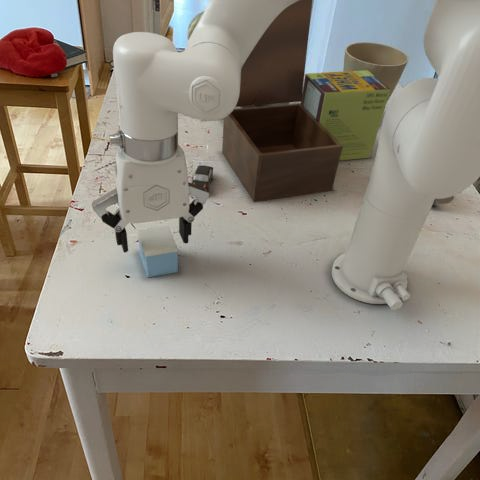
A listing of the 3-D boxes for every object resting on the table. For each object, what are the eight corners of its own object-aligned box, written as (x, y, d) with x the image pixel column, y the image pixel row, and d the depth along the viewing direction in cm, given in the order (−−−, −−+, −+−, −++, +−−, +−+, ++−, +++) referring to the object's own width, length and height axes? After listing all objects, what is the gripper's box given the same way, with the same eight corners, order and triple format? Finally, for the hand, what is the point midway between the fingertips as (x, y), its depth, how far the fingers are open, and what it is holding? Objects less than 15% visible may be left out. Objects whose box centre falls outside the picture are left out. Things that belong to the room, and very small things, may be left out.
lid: (313, -13, 89) (301, -16, 93) (226, -13, 84) (216, -16, 88) (301, 101, 102) (290, 94, 106) (225, 107, 97) (216, 100, 101)
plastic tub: (178, 272, 78) (178, 248, 74) (147, 278, 76) (145, 253, 72) (169, 249, 81) (168, 225, 78) (139, 254, 80) (136, 230, 76)
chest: (331, 190, 98) (343, 146, 91) (253, 201, 93) (258, 155, 86) (293, 145, 110) (300, 103, 103) (221, 153, 105) (224, 109, 98)
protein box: (371, 158, 109) (392, 88, 98) (310, 164, 105) (324, 92, 94) (350, 136, 116) (368, 69, 104) (292, 141, 112) (304, 72, 100)
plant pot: (320, 109, 125) (334, 43, 113) (368, 105, 129) (386, 41, 118) (348, 136, 116) (366, 66, 104) (399, 130, 120) (421, 63, 108)
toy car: (188, 194, 93) (188, 157, 87) (200, 164, 101) (200, 128, 95) (208, 197, 93) (209, 160, 87) (218, 166, 101) (219, 131, 95)
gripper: (87, 161, 58) (103, 266, 71) (219, 149, 63) (213, 249, 76) (78, 132, 63) (95, 235, 75) (203, 123, 68) (199, 221, 80)
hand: (154, 242), depth 76 cm, fingers open, 9 cm apart
